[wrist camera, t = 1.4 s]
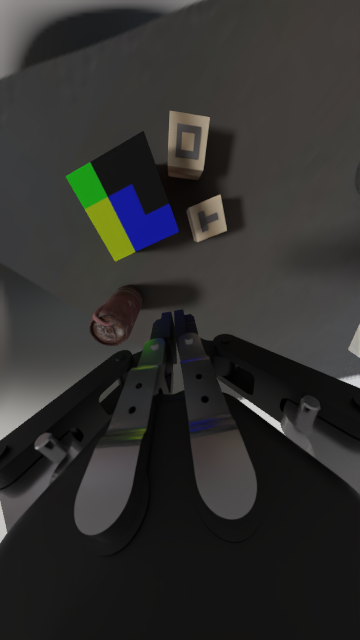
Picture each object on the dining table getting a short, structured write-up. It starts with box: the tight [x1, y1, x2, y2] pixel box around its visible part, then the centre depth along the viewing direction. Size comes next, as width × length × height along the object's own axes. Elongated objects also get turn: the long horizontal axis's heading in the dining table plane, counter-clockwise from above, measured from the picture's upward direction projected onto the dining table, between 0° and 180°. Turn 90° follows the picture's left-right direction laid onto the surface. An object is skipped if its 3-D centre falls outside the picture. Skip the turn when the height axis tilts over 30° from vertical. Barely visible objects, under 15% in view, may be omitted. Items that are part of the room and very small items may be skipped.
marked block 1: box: [168, 111, 210, 180], centre depth 23 cm, size 5×5×5 cm
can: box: [90, 286, 143, 346], centre depth 30 cm, size 6×6×14 cm
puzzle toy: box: [66, 131, 179, 261], centre depth 24 cm, size 10×10×10 cm
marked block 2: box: [186, 195, 227, 242], centre depth 27 cm, size 5×5×5 cm
